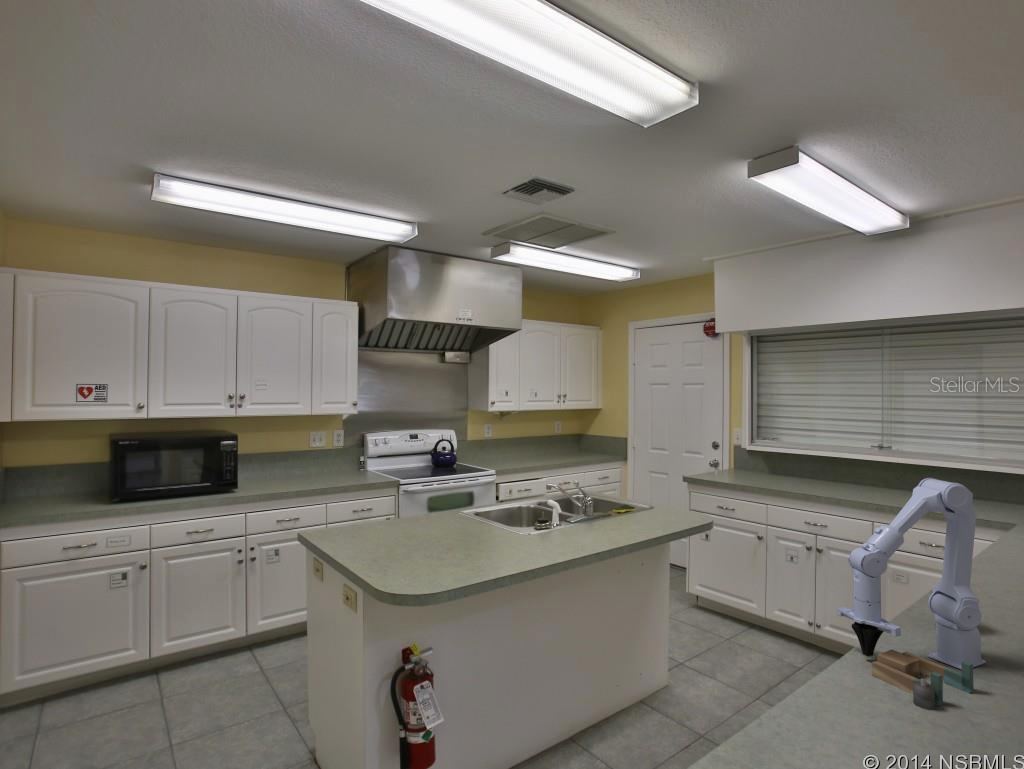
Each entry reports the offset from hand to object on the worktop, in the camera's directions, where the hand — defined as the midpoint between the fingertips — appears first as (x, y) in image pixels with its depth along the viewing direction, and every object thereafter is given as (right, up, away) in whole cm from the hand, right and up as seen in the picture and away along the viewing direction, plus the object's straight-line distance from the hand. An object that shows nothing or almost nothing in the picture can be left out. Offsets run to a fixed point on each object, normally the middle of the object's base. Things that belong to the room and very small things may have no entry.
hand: (867, 654), depth 138 cm
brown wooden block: (+3, -2, -6) cm, 7 cm away
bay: (+3, -1, -12) cm, 13 cm away
